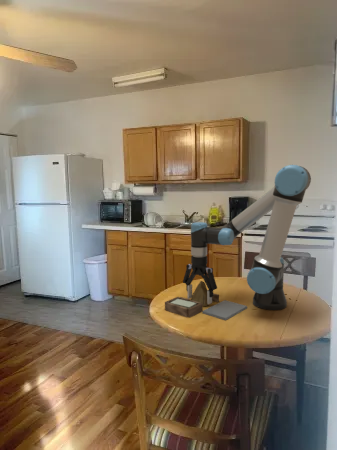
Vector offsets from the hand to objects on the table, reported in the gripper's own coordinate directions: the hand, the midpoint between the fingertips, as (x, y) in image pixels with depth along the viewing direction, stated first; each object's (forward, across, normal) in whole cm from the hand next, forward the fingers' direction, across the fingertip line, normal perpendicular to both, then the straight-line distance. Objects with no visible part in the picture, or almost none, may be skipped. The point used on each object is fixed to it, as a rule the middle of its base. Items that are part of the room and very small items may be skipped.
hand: (199, 300), depth 161 cm
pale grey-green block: (+2, 0, +12) cm, 12 cm away
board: (+1, -14, 0) cm, 14 cm away
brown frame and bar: (+1, 0, +5) cm, 5 cm away
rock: (+1, 0, 0) cm, 1 cm away
